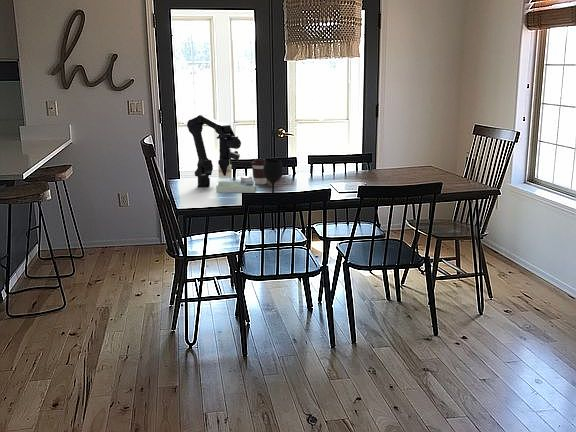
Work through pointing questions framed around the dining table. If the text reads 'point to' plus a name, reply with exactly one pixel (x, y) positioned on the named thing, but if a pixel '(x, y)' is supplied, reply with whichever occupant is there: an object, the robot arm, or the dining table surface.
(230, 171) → the taped carton
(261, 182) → the coffee cup
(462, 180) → the dining table surface
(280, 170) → the wine glass
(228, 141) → the robot arm
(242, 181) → the tin can
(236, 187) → the tote
